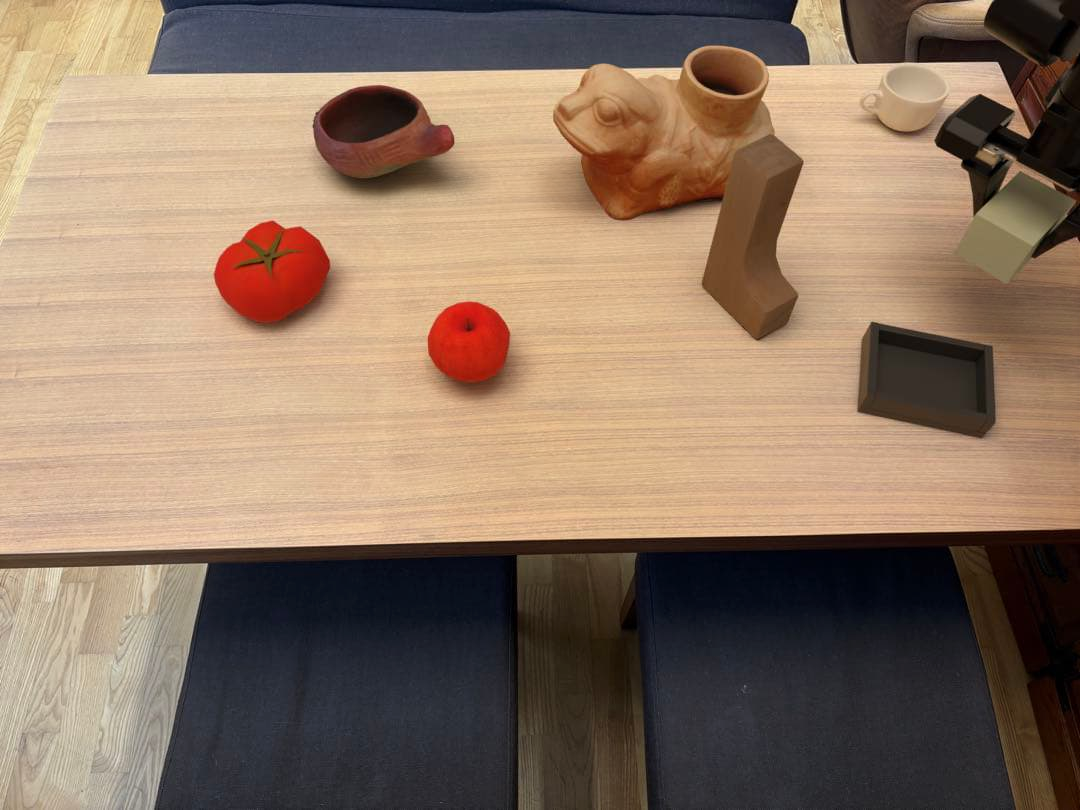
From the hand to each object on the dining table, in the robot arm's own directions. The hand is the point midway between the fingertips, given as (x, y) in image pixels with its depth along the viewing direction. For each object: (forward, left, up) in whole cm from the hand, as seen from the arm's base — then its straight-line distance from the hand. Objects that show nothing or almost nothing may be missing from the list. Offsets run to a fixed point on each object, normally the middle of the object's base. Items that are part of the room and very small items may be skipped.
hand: (1006, 239), depth 79 cm
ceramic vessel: (+34, -12, -11) cm, 38 cm away
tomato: (+69, +16, -11) cm, 71 cm away
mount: (+4, +11, -11) cm, 16 cm away
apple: (+47, +20, -11) cm, 52 cm away
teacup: (+8, -29, -11) cm, 32 cm away
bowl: (+65, -6, -11) cm, 66 cm away
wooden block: (+22, +5, -11) cm, 25 cm away
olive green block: (0, 0, -1) cm, 1 cm away
